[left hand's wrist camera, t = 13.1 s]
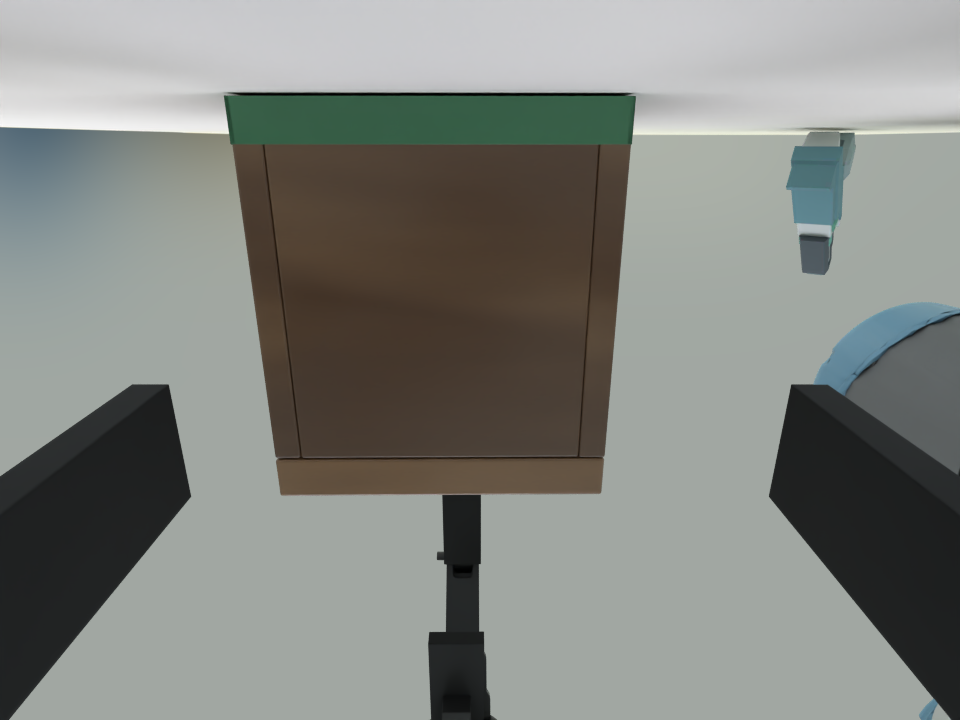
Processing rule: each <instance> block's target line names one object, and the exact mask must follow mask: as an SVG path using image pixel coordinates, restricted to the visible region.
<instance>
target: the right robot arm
mask: <svg viewBox="0 0 960 720" xmlns="http://www.w3.org/2000/svg"><path fill="white" fill-rule="evenodd" d="M813 385H829V386H831V387H832V388H833V389H835V390H836V391H838V392H839V393H841V394H842V395H843V396H845V397H846V398H848V399H849V400H851V401H852V402H854V403H855V404H856V405H858V406H859V407H861V408H862V409H864V410H865V411H866V412H868V413H869V414H871V415H872V416H874V417H875V418H877V419H878V420H879V421H881V422H882V423H884V424H885V425H887V426H888V427H889V428H891V429H892V430H894V431H895V432H897V433H898V434H900V435H901V436H902V437H904V438H905V439H907V440H908V441H910V442H911V443H912V444H914V445H915V446H917V447H918V448H920V449H921V450H923V451H924V452H925V453H927V454H928V455H930V456H931V457H933V458H934V459H935V460H937V461H938V462H940V463H941V464H943V465H944V466H946V467H947V468H948V469H950V470H951V471H953V472H954V473H956V474H957V475H958V476H960V308H956V307H952V306H947V305H943V304H938V303H931V302H917V303H908V304H903V305H899V306H896V307H892V308H889V309H887V310H884V311H882V312H880V313H877V314H875V315H874V316H872V317H870V318H868V319H866V320H865V321H863V322H862V323H860V324H859V325H857V326H856V327H855V328H853V329H852V330H851V331H850V332H849V333H847V334H846V335H845V336H844V337H843V338H842V339H841V340H840V341H839V342H838V343H837V344H836V346H835V347H834V348H833V351H832V354H831V356H830V358H829V359H828V360H827V361H826V362H824V363H823V364H822V365H821V367H820V369H819V371H818V373H817V376H816V378H815V381H814V384H813ZM442 497H443V535H444V552H437V560H444V564H446V565H447V592H446V632H429V642H428V649H429V675H430V700H431V719H430V720H497V719H495V718H494V717H493V716H491V715H490V695H489V692H488V690H487V688H486V654H485V652H484V632H479V564H481V495H442ZM919 717H920V719H921V720H951V719H950V718H949V717H948V715H947V714H946V713H945V712H944V710H943V709H942V708H941V707H940V706H939V704H938V703H937V702H936V701H935V699H933V700H932V701H931V702H929V703H928V704H927V705H926V706H925V707H924V709H923V710H922V711H921V713H920V714H919Z"/></svg>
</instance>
